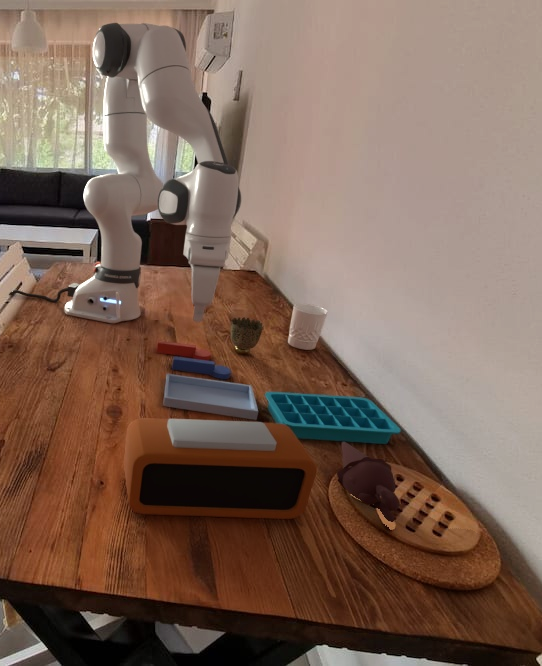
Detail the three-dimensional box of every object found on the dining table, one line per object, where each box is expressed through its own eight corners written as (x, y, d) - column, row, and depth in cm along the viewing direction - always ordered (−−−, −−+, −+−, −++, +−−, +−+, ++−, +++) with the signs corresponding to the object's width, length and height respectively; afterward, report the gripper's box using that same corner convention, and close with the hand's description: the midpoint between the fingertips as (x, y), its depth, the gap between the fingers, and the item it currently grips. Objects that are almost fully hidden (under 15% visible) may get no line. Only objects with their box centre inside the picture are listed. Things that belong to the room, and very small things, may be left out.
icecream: (318, 428, 71) (364, 503, 58) (369, 422, 70) (427, 497, 57) (318, 461, 75) (361, 540, 61) (366, 455, 73) (421, 535, 60)
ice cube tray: (399, 447, 78) (404, 433, 77) (280, 439, 79) (284, 425, 78) (364, 411, 89) (368, 397, 88) (260, 404, 90) (263, 391, 89)
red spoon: (156, 355, 109) (157, 345, 108) (157, 347, 113) (158, 338, 112) (210, 362, 107) (212, 352, 106) (209, 354, 111) (211, 344, 110)
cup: (259, 360, 109) (266, 329, 105) (227, 356, 110) (233, 326, 107) (255, 348, 115) (261, 318, 112) (225, 344, 117) (230, 315, 113)
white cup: (316, 341, 121) (325, 306, 117) (319, 353, 114) (329, 316, 110) (284, 336, 123) (292, 301, 120) (286, 347, 116) (294, 311, 113)
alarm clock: (127, 515, 61) (134, 445, 57) (122, 473, 69) (128, 409, 65) (303, 521, 62) (324, 452, 57) (278, 479, 70) (295, 415, 65)
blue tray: (163, 406, 88) (164, 397, 87) (165, 381, 97) (166, 373, 96) (256, 420, 84) (258, 411, 84) (250, 393, 94) (251, 385, 93)
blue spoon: (171, 372, 101) (173, 361, 100) (172, 363, 105) (173, 353, 104) (231, 380, 99) (233, 369, 98) (229, 371, 103) (231, 361, 102)
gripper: (190, 238, 102) (182, 297, 107) (190, 257, 83) (181, 327, 88) (219, 240, 100) (210, 300, 106) (226, 260, 82) (214, 331, 87)
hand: (197, 312), depth 97 cm, fingers open, 8 cm apart
